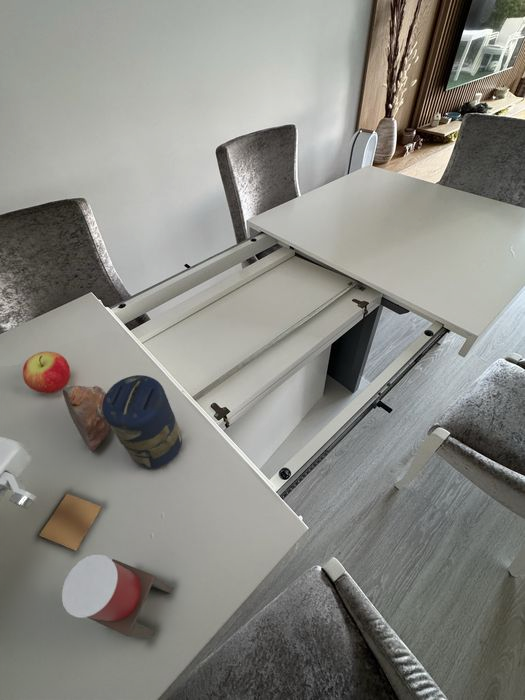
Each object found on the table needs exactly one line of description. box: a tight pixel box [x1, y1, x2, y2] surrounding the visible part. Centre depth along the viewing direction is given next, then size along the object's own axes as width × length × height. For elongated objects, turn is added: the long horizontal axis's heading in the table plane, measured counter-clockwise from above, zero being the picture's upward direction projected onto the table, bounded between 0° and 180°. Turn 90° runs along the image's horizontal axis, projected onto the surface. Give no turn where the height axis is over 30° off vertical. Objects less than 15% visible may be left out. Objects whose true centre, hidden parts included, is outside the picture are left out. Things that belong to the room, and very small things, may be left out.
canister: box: [102, 374, 183, 469], centre depth 58 cm, size 10×10×18 cm
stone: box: [62, 385, 110, 452], centre depth 65 cm, size 13×8×10 cm
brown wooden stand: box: [88, 558, 173, 639], centre depth 45 cm, size 6×6×11 cm
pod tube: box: [61, 554, 141, 622], centre depth 38 cm, size 5×5×9 cm
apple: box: [22, 350, 71, 394], centre depth 71 cm, size 8×8×10 cm
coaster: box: [38, 493, 103, 552], centre depth 57 cm, size 7×7×1 cm
